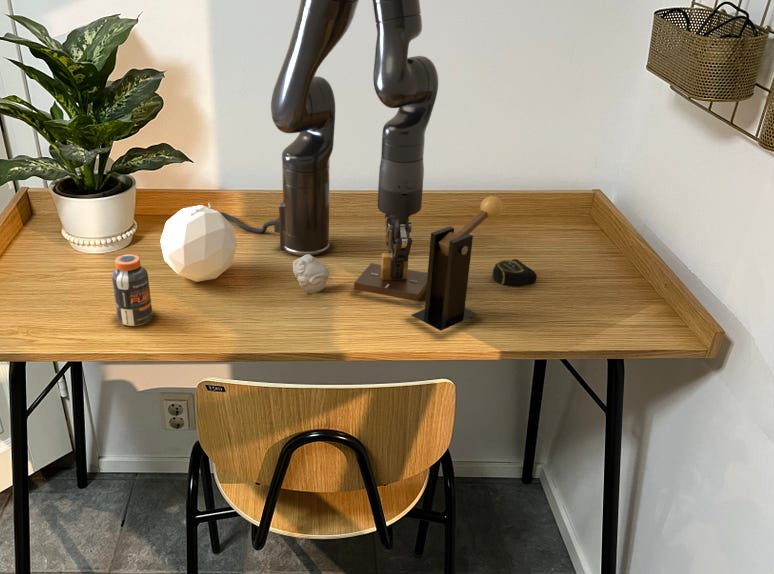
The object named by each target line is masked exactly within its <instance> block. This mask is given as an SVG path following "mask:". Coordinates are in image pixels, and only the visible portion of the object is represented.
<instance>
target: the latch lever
mask: <svg viewBox="0 0 774 574" xmlns="http://www.w3.org/2000/svg"><path fill="white" fill-rule="evenodd" d="M479 208H480V209H479V210H480V211H479V212H478V213H477V214H476V215H475V216H474V217H472V219H471V220H469V222H467V223H466V224H465V225H464V226H463V227H462V228H461V229H460V230H459V231H457V232H456V233H455V232H454V233H452V232H449V233H448V234H447V235H446V236H445V237H444V238H443V239H442V240H441V241H440V242H439V245H440V249H441V252H442V254H445V255H447V256H448V252H449V241H450V240H453V239H456V238H458V237H461V236H464V235H466V234H470V235H471V233H472V232H473V231H474V230H476V228H477V227H479V226H480V225H481V224H482V223H483V222H484V221H485V220H486V219H492V220H493V219H497V218H498V217H500V215H501V214H502V212H503V210H504V206H503V202H502V200H501V199H500V198H499V197H497V196H494V195H493V196H492V195H491V196H487V197H485V198H484V199H483V200H482V201H481V202H480V207H479Z"/></svg>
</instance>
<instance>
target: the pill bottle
mask: <svg viewBox="0 0 774 574" xmlns="http://www.w3.org/2000/svg"><path fill="white" fill-rule="evenodd" d="M114 261H115V269H114V270H113V272H112V274H111V281H112V287H113V294H114V302H115V307H116V313H117V314H116V315H117V320H118V322H119V323H120V324H122V325H124V326H129V327H135V326H136V327H137V326H141V325H144V324H146V323H148V322H150V321H151V320H152V319H153V317H154V314H153V307H152V297H151V289H150V281H149V274H148V271H147V269H146V268H145V267H144V266H142V264H141V263H142V262H141V257H140V256H138V255H136V254H123V255H119V256H117V257H116V258H115V260H114Z"/></svg>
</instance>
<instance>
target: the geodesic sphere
mask: <svg viewBox="0 0 774 574" xmlns="http://www.w3.org/2000/svg"><path fill="white" fill-rule="evenodd" d="M207 206H208V207H207ZM207 206H205V205H202V204H199V205H194V206H188V207H184V208H181V209H180V210H178V211H177V212H176V213H175V214H173V215H172V216H171V217H170V218H169V219H167V221H166V222H165V224H164V226H163V227H164V228H163V231H162V234H161V237H160V240H159V241H160V246H161V247H160V248H161V251H162V257H163V260H164V261H165V263H166V264H167V265H168V266H169V267H170V268H171V269H172V270H173V271H174V272H175V273H176V274H177V276H180V277H183V278H185V279H189V280H191V281H192V282H195V283H198V282H199V283H200V282H204V281H210V280H215V279H217V278H218V277H219V276H220V275H222V274H223V273H224V272H226V271H227V270H228V269H229V268H230V267H231V266H232V263H233V261H234V260H233V259H234V257H235V253H236V249H237V240H236V235H235V227H234V226H233V225H232V224H231V223H230V222H229V220H228V219H226V218H225V217H224V216H223V215H222V214H221V213H220V212H221V211H217V210H216V209H213V208H211V204H210V203H208V205H207Z"/></svg>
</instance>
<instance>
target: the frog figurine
mask: <svg viewBox="0 0 774 574" xmlns="http://www.w3.org/2000/svg"><path fill="white" fill-rule="evenodd" d="M292 271H293V274H294V276H295V278H297V279H296V280H297V281H298V283H299V287H300V288H301V290H303V292H305V293H307V294H310V295H314V294H318V293H320V292H323V290H324V289H325V288H326V286H327V281H328V279H329V278H330V269H329V268H328V267H327V266H326V265H325V264H324V263H323V262H322V261H320V260H319V259H317V258H316V257H314V256H311V255H310V254H307V255H304V256H300V257H298V258H297V259H295V260H293V261H292Z"/></svg>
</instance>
